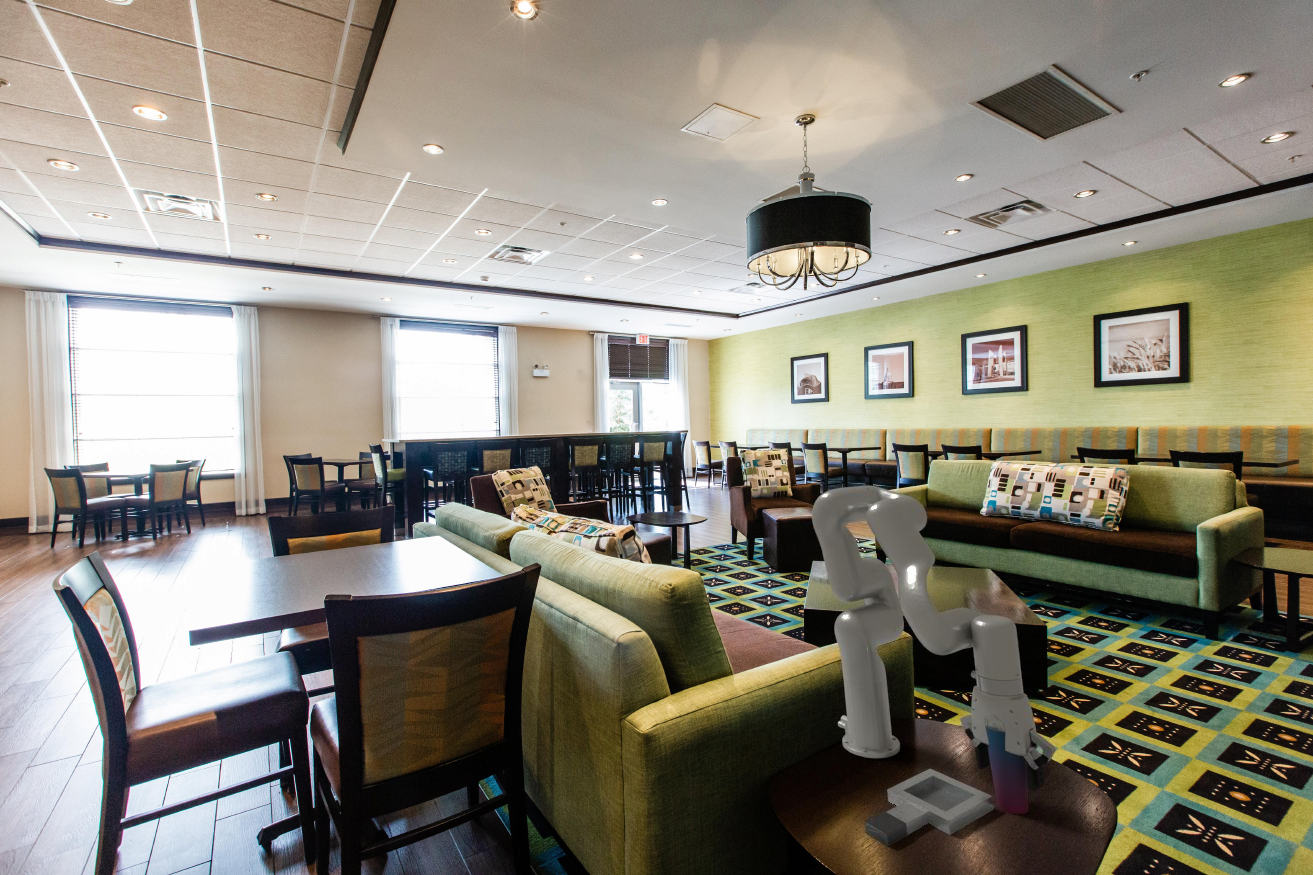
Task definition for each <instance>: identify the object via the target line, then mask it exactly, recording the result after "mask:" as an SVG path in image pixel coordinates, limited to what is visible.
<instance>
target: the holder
mask: <svg viewBox="0 0 1313 875" xmlns="http://www.w3.org/2000/svg"><path fill="white" fill-rule="evenodd" d="M887 800H888V803H889V802H890V803H889V804H891V803H892V804H891V805H893V804H895V805H896V806H895V805H894V807H892V808H891V809H889V810H886V811H885V810H882V811H881V812H879V813H877V814H875V815H873V816H871V817H869V818H867V819H865V820H864V823H865V825H864V827H865V833H866V835H868V836H870V837H872V838H873V839H874V840H877V841H878V842H879V843H881V844H883V845H884V846H886V847H891V846H893V845H895V843H896V844H897V842H898V843H899V841H902V840H903V839H904V838H907V837H908V836H909V835H910V834H912V833H914V832H915V831H917V830H919V829H921V828H922V826H923V827H925V826H926V825H928V823H929V825H930V824H931V826H933V827H934V828H936V829H938V830H940V831H941V832H944V833H945V834H948V835H949V836H951V835H953V834H954V833H957V832H958V831H959V830H961V829H964V828H965V827H966V825H967V826H968V825H970V824H972V823H973V822H975V821H977V820H978V819H981V818H982V817H983V816H985V815H987V814H989V813H990V812H992V811H994V810H995V808H994V799H993V795H991V794H988V793H986V792H984V791H982V790H980V789H978V788H975V787H973V786H971V785H968V784H966V783H964V782H961V781H959V780H956V779H955V778H952V777H950V776H948V775H947V774H946V775H945V774H944V773H941V772H939V771H936V770H934V769H932V768H929V769H926V770H924V771H923V772H921V773H918V774H916V775H914V776H912V777H910V778H907V779H906V780H904V781H902V782H900V783H898V784H896V785H893V786H892V787H889V788H887ZM924 825H925V826H924Z"/></svg>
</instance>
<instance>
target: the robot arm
mask: <svg viewBox="0 0 1313 875" xmlns="http://www.w3.org/2000/svg"><path fill="white" fill-rule="evenodd" d="M811 521H812V525H813V529H814V532H815V534H816V537H817V540H818V542H819V546H820V547H821V551H822V556H823V562H824V564H825V568H826V573H827V577H828V582H829V586H830V588H831V592H832V594H833V596H834V598H835V599H837V601H840V602H841V603H855V602H859V601H863V600H864V602H865V605H859V606H856V607H852V608H849V609H847V610H845V611H843V612H842V613H840V614H839V615H838V616H837V618H836V620H835V622H834V635H835V640H836V643H837V646H838V649H839V653H840V660H841V667H842V677H843V678H842V679H843V685H844V686H843V687H844V698H845V708H846V709H845V710H846V715H845V714H843V715H842V716H841V717H840V720H839V721H838V722H837V726H838V727H839V728H842V729H844V731H845V734H844V735H843V737H842V746H843V749H845V750H846V751H848V752H849V753H851V754H853V755H856V756H859V757H861V758H862V757H863V758H868V759H884V758H885V759H886V758H889V757H890V758H891V757H892V756H895V755H897V754H898V753H899V752H900V749H901V743H900V741H899V739H898V738H897V737H896V736H894V735H892V725H891V724H892V723H891V715H890V714H891V713H890V703H889V693H888V684H887V683H888V682H887V675H886V667H885V664H884V661H883V659H882V658H881V656H880V654H879V652H878V649H877V648H878V647H881V646H883V645H886V644H889V643H892V642H894V641H896V640H898V639H899V638H900V637H901V635H903V631H904V628H905V627H904V626H905V625H904V622H905V621H904V618H905V620H906V622H907V623H908V625H909V627H910V628H911V630H912V631H913V634H914V635H915V637H916V638H917V640H918V641H919V642H920V643H921V645H922V646H923V647H924V648H926V650H928V651H929V652H930V653H933V654H935V655H939V656H946V655H949V654H953V653H956V652H959V651H961V650H964V649H969V648H973V649H972V650H973V658H974V666H975V670H972V671H971V673H970V676H971V678H973V679H975V681H976V685H974V686H973V690H972V696H971V712H970V714H968V715H967V714H966V715H963V716H961V717H960V718H959V721H960V723H961V725H962V727H963V729H964V732H965V735H966V736H967V737H968V738H969V740H970V742H971V746H973V747H974V749H975V750H974V751H975V760H976V762H977V768H978V769H979V770H982V771H983V770H984V769H986V768H988V767H989V766H990V767H991V764H990V759H989V753H988V747H987V745H989V742H988V737H987V732H986V727H985V725H986V726H988V727H990V728H992V729H995V730H999V731H1004V732H1005V734H1006V735H1005V751H1007V752H1009V753H1012V754H1015V755H1018V756H1024V758H1025V759H1026V762H1027V763H1028V765H1029V766H1027V779H1028V785H1029V786H1028V787H1029V789H1030V790H1031V791H1033V792H1036V791H1037V790H1039V789H1040V788H1041V789H1042V787H1043V786H1044V785H1045V784H1044V783H1045V778H1044V776H1045V775H1044V768H1043V767H1044V766H1045V765H1046V764H1047V763H1049V762H1050V761H1052V759H1053V756H1054V755H1055V753H1056V751H1057V748H1056V747H1055V745H1053V744H1052V743H1050V742H1049V741H1048V740H1047V739H1045V737H1043V736H1042V735H1041V734H1039V733H1038V732H1037V728H1036V723H1035V718H1034V714H1033V710H1032V707H1031V703H1030V700H1029V698H1028V695H1027V694H1026V693H1024V685H1023V679H1022V670H1021V660H1020V659H1021V658H1020V650H1019V640H1018V632H1017V626H1016V623H1015V622H1014V621H1013V620H1012V619H1010V618H1009V617H1006V616H1003V615H998V614H997V615H996V614H987V613H983V612H979V611H977V610H974V609H971V608H967V607H956V608H952V609H949V610H945V611H942V612H939V611H938V609H937V608H936V606H935V604H934V603H933V600H932V599H931V597H930V594H929V590H928V584H927V578H928V574H929V572H930V571H931V569H932V567H933V565H934V564H935V561H936V556H935V554H934V553H933V552H934V551H932V549H931V548H930V546H929V545H928V544H927V542H926V540H925V539H924V538H923V536H922V535H921V533H920V531H922V530H923V529H924V528H925V527H926V525H927V523H928V515H927V512H926V509H925V507H924V505H923V504H922V503H921V502H919V501H918V500H917V499H915V498H914V497H912V496H909V495H906V494H903V493H899V492H897V491H896V492H895V491H893V490H892V491H891V490H889V489H886V488H882V487H879V486H874V485H858V486H847V487H840V488H833V489H830V490H827V491H825V492H823V493H822V494H821V495H819V496H817V499H816V500H815V502H814V503H813V506H812V510H811ZM865 521H866V523H867V525H868V528H869V529H870V530H871V532H872V534H873V536H874V537H875V539H876V541H877V542H878V544H879V546H880V547H881V549H882V551H883V552H884V554H885V556H886V557H887V558H888V560H889V562H890V564H891V565H892V567H893V569H894V570H895V572H896V574H897V578H898V579H897V581H898V582H897V589H896V586H895V582H894V578H893V576H892V573H891V571H890V569H889V567H888V566H887V565H886V564H885V563H884V562H883V561H881V560H880V559H878V558H877V557H876V558H875V557H871V556H870V557H869V556H867V557H862V556H861V553H860V549H859V545H858V542H857V540H856V537H855V536H854V535H853V533H852V531H850V529H849V528H848V527H847V525H848V524H852V523H859V522H860V523H861V522H865ZM897 590H898V593H897ZM1038 747H1039V748H1040V749H1041V750H1042V753H1040V752H1039V751H1038V750H1037V749H1038Z"/></svg>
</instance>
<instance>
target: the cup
mask: <svg viewBox="0 0 1313 875" xmlns="http://www.w3.org/2000/svg"><path fill="white" fill-rule="evenodd" d="M985 727H986V732H987V737H988V742H989V745H987V747H988V753H989V759H990V764H991V765H990V770H991V776H992V781H993V787H994V792H995V797H996V798H995V800H996V804H997V807H998V808H999V809H1000V810H1002V811H1004V812H1006V813H1008V814H1013V815H1024V814H1027V813H1028V812H1029V792H1028V791H1029V788H1028V787H1029V786H1028V766H1027V763H1028V762H1027V761H1026V759H1025V758H1024V756H1018V755H1015V754H1012V753H1009V752H1007V751H1005V735H1006V734H1005V732H1004V731H999V730H995V729H992V728H990V727H988V726H986V725H985Z"/></svg>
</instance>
